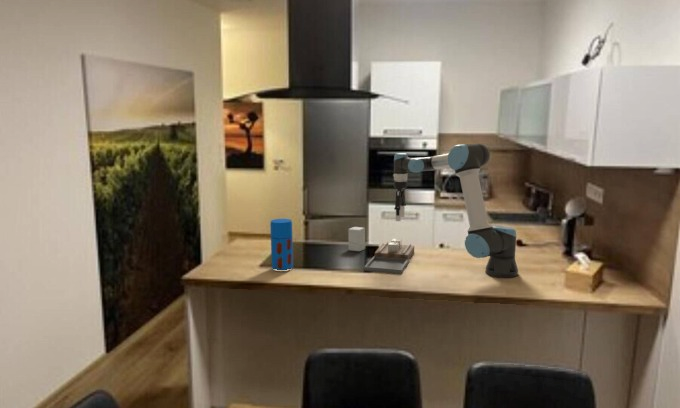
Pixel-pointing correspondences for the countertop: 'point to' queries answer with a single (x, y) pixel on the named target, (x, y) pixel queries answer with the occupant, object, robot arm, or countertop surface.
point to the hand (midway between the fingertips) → (400, 219)
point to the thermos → (281, 244)
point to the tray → (386, 265)
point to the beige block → (393, 247)
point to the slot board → (403, 252)
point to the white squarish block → (397, 242)
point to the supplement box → (356, 238)
